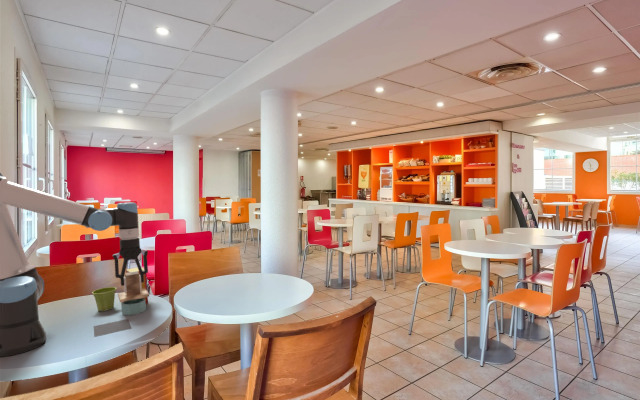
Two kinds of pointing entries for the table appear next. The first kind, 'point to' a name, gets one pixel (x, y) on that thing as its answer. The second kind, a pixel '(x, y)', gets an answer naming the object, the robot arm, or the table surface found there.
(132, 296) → the lid
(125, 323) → the mat
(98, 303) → the plant pot
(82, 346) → the table surface
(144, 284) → the baking soda box
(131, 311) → the bowl
